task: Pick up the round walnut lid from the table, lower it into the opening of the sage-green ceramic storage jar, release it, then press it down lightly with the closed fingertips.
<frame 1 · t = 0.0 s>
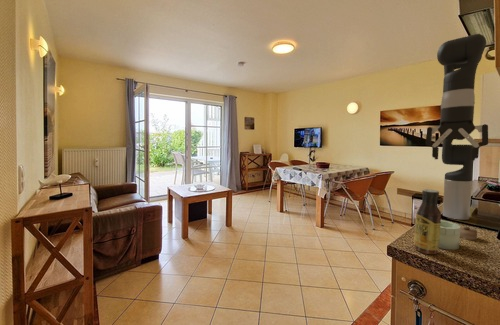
hand: (453, 159, 71), 29 cm above the worktop, tool pointing down, fingers open, 8 cm apart
lid: (466, 237, 84), on the worktop
sauce bottle: (426, 251, 74), on the worktop
jar: (441, 243, 79), on the worktop
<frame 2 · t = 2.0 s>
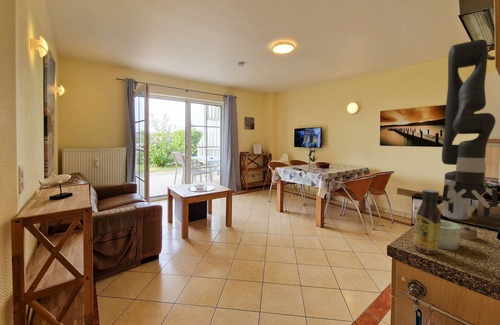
hand: (467, 215, 83), 8 cm above the worktop, tool pointing down, fingers open, 8 cm apart
nothing on the worktop moved.
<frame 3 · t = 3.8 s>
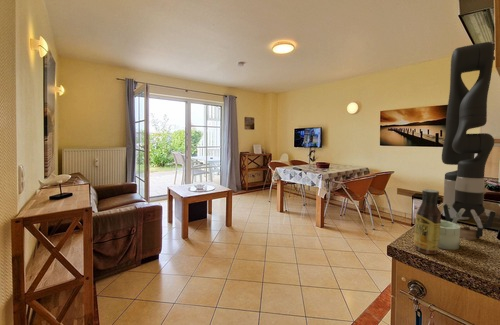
hand: (466, 235, 84), 1 cm above the worktop, tool pointing down, fingers closed on lid, 5 cm apart
lid: (466, 237, 84), on the worktop, touching gripper
everything else where it was.
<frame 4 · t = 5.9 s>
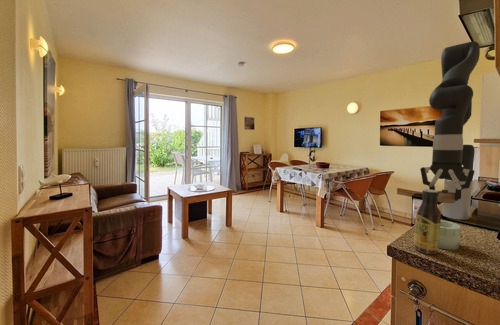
hand: (444, 198, 77), 16 cm above the worktop, tool pointing down, fingers closed on lid, 5 cm apart
lid: (444, 201, 77), point 15 cm above the worktop, touching gripper
everything else where it was.
when the fingers open (8 cm above the worktop, at t = 8.1 s): lid drops 2 cm, resting on jar.
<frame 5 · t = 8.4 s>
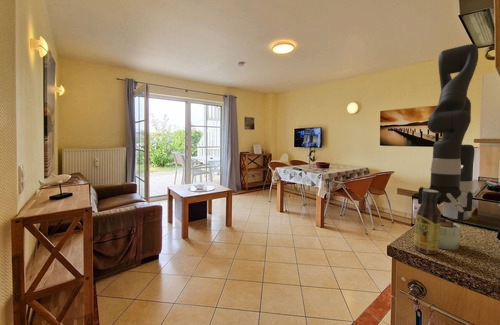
hand: (442, 219, 78), 8 cm above the worktop, tool pointing down, fingers open, 7 cm apart
lid: (442, 229, 78), point 5 cm above the worktop, touching jar
everything else where it was.
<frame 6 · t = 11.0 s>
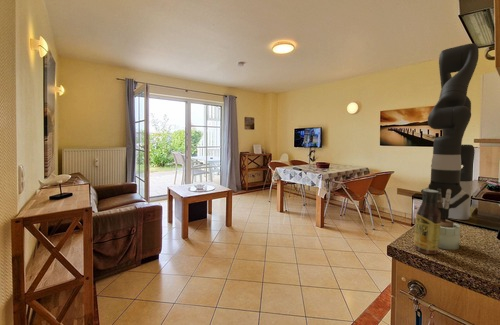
hand: (442, 218, 78), 9 cm above the worktop, tool pointing down, fingers closed
lid: (442, 229, 78), point 5 cm above the worktop, touching gripper, jar
everything else where it was.
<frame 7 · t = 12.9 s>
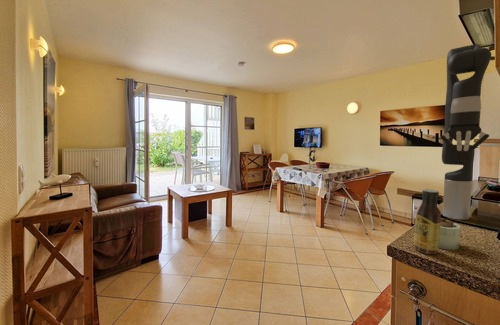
hand: (462, 161, 81), 28 cm above the worktop, tool pointing down, fingers closed
lid: (442, 229, 78), point 5 cm above the worktop, touching jar
everything else where it was.
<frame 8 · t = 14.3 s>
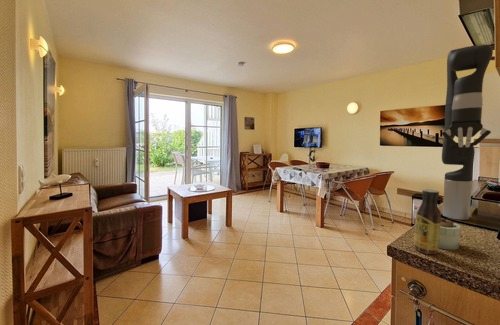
hand: (463, 158, 81), 29 cm above the worktop, tool pointing down, fingers closed
nothing on the worktop moved.
at the end: lid 0.0 cm off-centre on the jar, point 5.0 cm above the jar's base; lid tilted 0°; the gripper is holding nothing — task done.
